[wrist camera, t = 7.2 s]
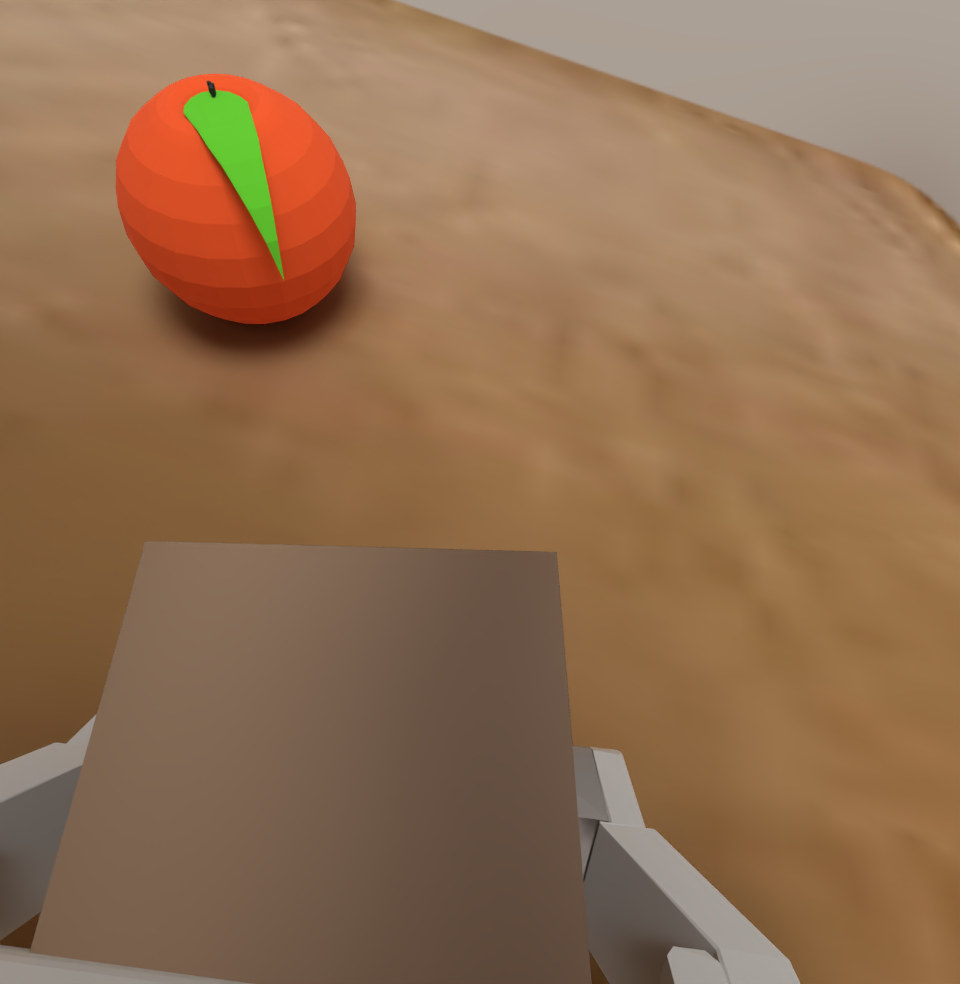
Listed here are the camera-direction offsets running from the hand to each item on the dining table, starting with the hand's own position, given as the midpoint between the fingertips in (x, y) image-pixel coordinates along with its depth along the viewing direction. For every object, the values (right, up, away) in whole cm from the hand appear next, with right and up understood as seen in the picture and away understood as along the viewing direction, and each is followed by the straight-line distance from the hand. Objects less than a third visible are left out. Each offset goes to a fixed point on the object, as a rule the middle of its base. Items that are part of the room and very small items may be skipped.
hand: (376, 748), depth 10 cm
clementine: (-6, +11, +12) cm, 17 cm away
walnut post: (-1, -3, +4) cm, 5 cm away
